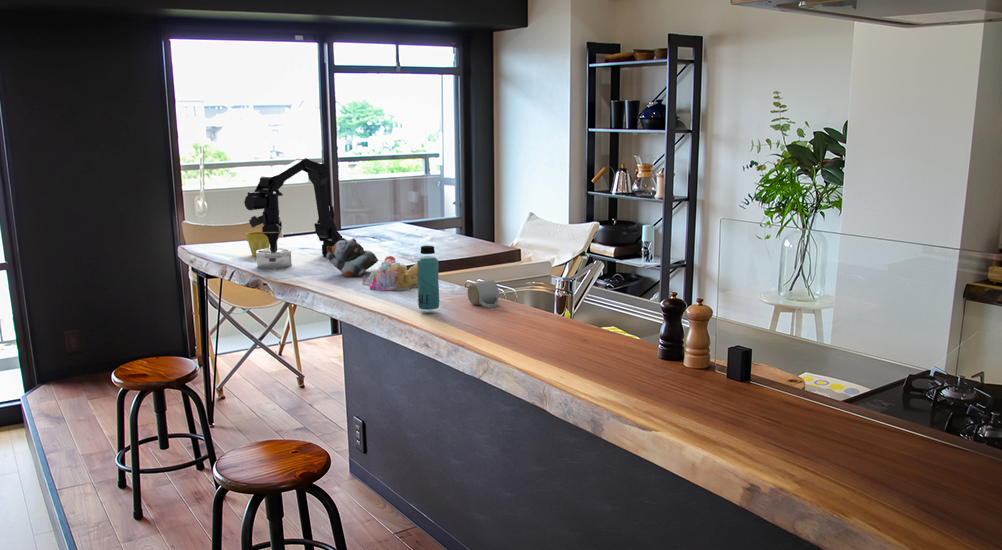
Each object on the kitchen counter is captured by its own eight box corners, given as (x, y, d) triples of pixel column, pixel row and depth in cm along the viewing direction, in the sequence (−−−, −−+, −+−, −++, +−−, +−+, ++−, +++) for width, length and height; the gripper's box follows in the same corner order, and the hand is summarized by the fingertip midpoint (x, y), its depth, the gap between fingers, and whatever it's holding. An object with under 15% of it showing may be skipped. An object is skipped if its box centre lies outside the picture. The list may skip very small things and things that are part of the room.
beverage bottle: (440, 309, 225) (439, 244, 221) (439, 314, 219) (438, 247, 215) (418, 309, 225) (417, 244, 221) (416, 315, 219) (415, 247, 215)
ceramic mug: (466, 303, 234) (465, 280, 232) (487, 300, 238) (487, 277, 236) (482, 310, 225) (482, 286, 224) (504, 306, 230) (505, 283, 228)
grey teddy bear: (353, 279, 270) (331, 241, 268) (335, 288, 280) (313, 252, 278) (385, 260, 281) (364, 224, 279) (367, 269, 291) (346, 234, 289)
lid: (287, 251, 301) (286, 238, 300) (285, 255, 292) (285, 242, 291) (262, 252, 299) (261, 239, 298) (260, 256, 290) (259, 242, 289)
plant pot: (246, 254, 325) (244, 231, 323) (270, 252, 329) (269, 230, 327) (248, 257, 316) (247, 234, 314) (274, 256, 320) (272, 233, 318)
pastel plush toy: (443, 282, 267) (443, 257, 265) (403, 295, 246) (402, 267, 245) (388, 275, 279) (387, 251, 277) (345, 287, 259) (344, 261, 257)
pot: (292, 261, 307) (291, 246, 305) (290, 269, 289) (289, 253, 288) (259, 262, 304) (258, 247, 303) (255, 271, 286) (254, 255, 285)
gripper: (252, 206, 299) (254, 244, 302) (247, 211, 281) (249, 252, 284) (280, 205, 301) (283, 243, 304) (277, 210, 284) (280, 250, 287)
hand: (273, 247), depth 295 cm, fingers open, 9 cm apart
